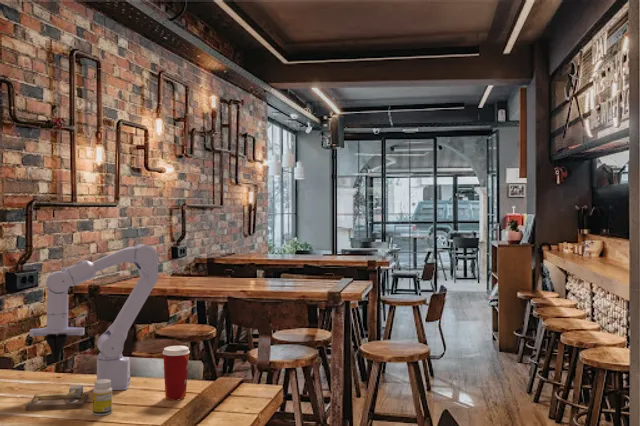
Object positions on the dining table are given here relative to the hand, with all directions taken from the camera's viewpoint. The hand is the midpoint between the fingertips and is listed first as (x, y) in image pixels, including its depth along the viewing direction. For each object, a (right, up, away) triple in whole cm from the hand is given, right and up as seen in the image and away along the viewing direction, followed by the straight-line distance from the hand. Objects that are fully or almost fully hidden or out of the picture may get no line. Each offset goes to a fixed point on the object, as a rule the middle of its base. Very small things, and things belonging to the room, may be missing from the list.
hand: (57, 360), depth 178 cm
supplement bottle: (+19, -10, -17) cm, 27 cm away
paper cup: (+35, -10, -3) cm, 36 cm away
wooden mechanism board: (+5, -9, -10) cm, 14 cm away
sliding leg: (+9, -8, -10) cm, 15 cm away
